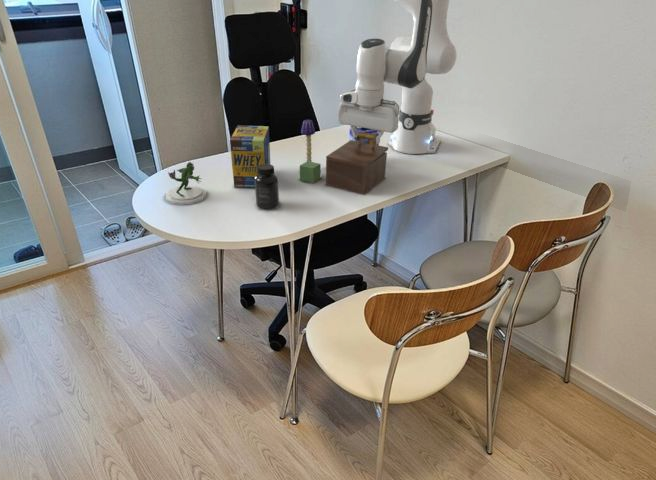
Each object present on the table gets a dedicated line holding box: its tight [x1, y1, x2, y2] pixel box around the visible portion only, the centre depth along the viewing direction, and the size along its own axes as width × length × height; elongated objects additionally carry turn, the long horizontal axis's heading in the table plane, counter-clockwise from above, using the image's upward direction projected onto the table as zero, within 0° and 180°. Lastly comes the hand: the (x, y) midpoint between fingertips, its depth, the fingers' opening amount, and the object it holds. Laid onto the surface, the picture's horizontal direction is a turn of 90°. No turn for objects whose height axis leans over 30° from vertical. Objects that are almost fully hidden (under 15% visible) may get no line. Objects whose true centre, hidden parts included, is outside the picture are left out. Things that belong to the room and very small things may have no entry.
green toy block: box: [299, 160, 322, 184], centre depth 163 cm, size 5×5×5 cm
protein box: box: [229, 124, 271, 189], centre depth 159 cm, size 10×15×16 cm
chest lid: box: [325, 131, 389, 167], centre depth 157 cm, size 17×14×5 cm
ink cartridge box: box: [348, 127, 380, 146], centre depth 174 cm, size 10×6×14 cm, turn 117°
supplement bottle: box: [254, 163, 280, 211], centre depth 144 cm, size 7×7×12 cm
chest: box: [325, 151, 388, 196], centre depth 160 cm, size 16×14×9 cm
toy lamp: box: [300, 119, 316, 162], centre depth 167 cm, size 5×5×17 cm
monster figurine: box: [165, 161, 207, 206], centre depth 149 cm, size 12×12×10 cm
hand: (366, 141), depth 161 cm, fingers closed on chest lid, 6 cm apart
